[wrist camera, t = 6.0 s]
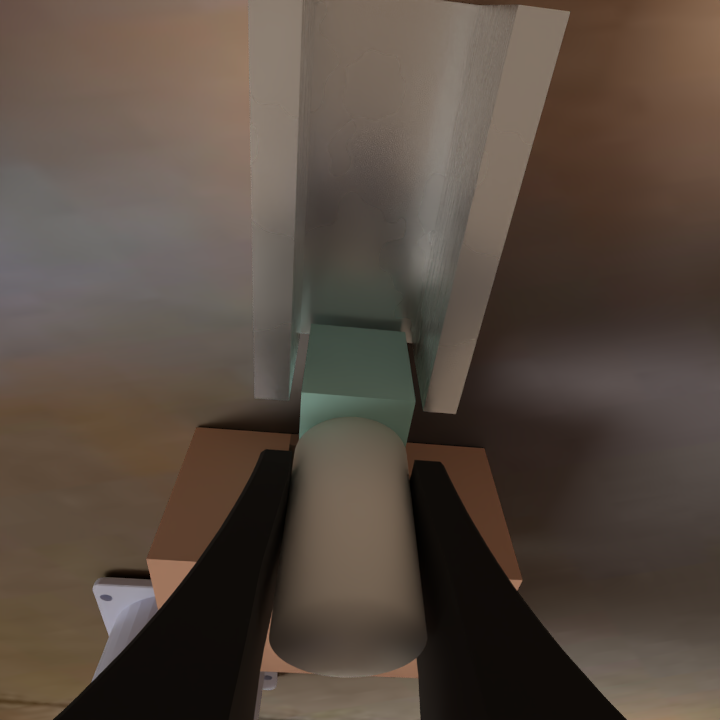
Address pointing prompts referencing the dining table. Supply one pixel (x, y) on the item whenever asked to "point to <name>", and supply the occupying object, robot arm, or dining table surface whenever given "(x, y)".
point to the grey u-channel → (388, 171)
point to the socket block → (241, 452)
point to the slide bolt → (351, 513)
